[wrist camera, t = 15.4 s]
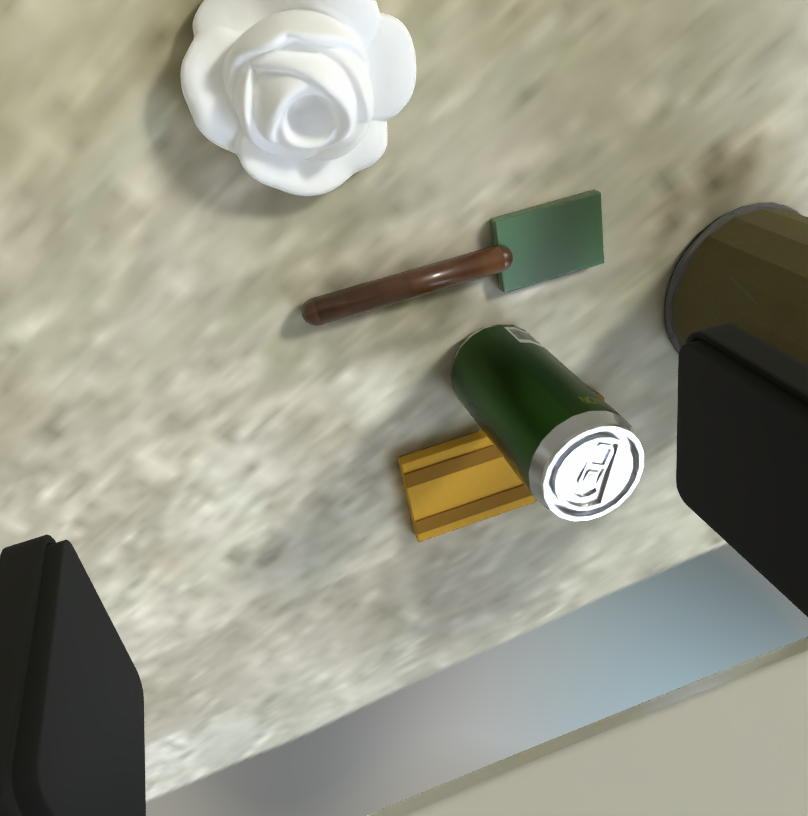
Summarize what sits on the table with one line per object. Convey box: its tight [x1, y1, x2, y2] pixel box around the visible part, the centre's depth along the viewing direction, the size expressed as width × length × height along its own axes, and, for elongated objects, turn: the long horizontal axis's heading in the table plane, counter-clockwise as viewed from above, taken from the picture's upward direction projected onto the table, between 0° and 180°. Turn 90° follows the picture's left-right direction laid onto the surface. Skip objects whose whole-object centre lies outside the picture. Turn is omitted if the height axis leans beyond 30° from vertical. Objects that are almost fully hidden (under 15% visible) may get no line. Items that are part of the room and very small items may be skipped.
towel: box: [398, 393, 604, 542], centre depth 47 cm, size 13×6×1 cm, turn 101°
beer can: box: [451, 325, 644, 521], centre depth 39 cm, size 5×5×12 cm
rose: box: [180, 0, 416, 196], centre depth 32 cm, size 10×4×10 cm
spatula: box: [302, 190, 604, 326], centre depth 40 cm, size 17×4×1 cm, turn 101°
